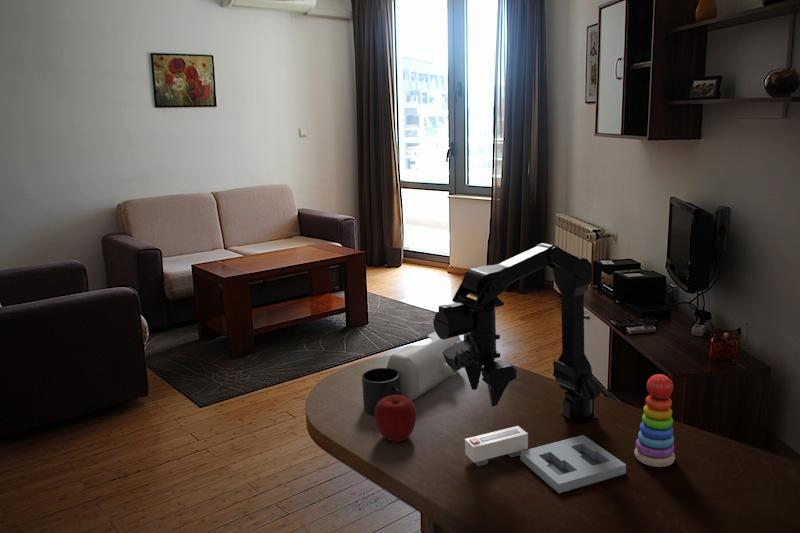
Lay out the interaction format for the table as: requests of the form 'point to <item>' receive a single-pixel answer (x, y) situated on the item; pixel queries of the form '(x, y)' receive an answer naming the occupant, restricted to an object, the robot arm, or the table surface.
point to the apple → (395, 417)
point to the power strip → (496, 444)
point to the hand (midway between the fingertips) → (483, 397)
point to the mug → (379, 386)
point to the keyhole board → (572, 463)
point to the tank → (422, 366)
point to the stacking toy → (656, 425)
